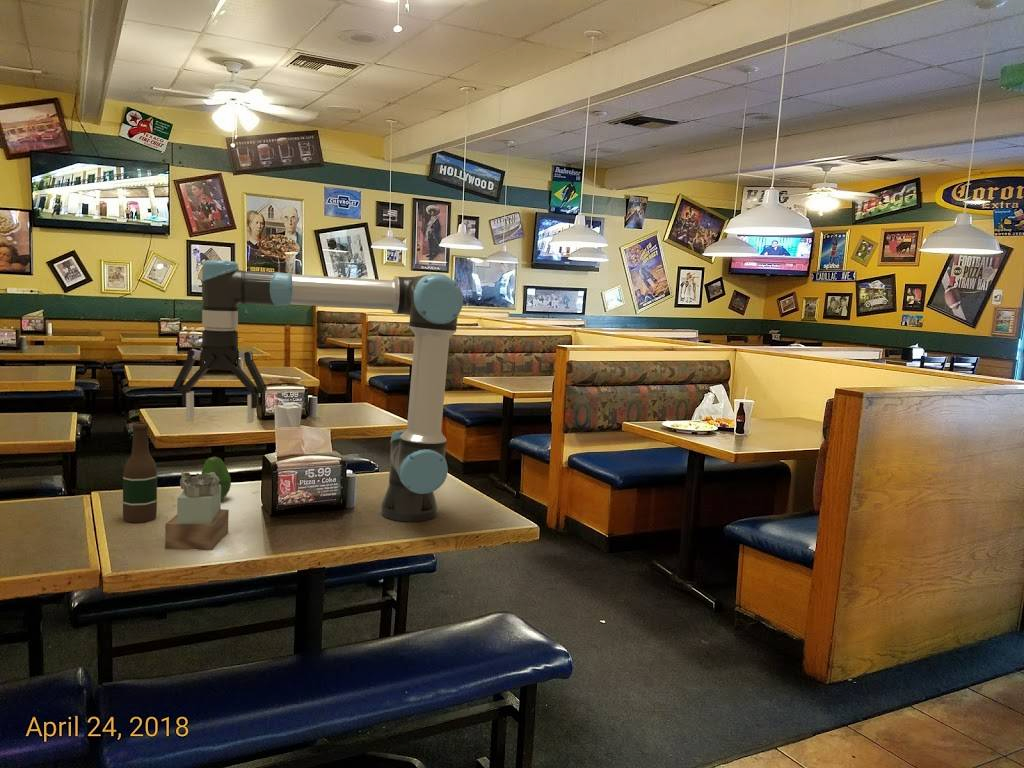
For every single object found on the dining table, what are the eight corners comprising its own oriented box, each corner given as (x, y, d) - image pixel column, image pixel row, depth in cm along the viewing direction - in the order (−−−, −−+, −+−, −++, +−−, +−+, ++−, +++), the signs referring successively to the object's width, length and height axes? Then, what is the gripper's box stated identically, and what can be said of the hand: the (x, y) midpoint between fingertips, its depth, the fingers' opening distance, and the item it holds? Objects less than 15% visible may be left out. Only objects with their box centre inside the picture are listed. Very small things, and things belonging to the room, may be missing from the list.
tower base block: (228, 533, 172) (228, 509, 171) (211, 551, 160) (212, 525, 159) (184, 532, 171) (185, 507, 170) (165, 550, 159) (165, 523, 158)
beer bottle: (151, 511, 183) (152, 419, 180) (162, 520, 177) (163, 424, 174) (117, 516, 177) (117, 421, 174) (128, 525, 172) (128, 427, 169)
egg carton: (178, 486, 167) (178, 469, 166) (213, 483, 171) (213, 467, 170) (185, 498, 158) (185, 480, 157) (221, 495, 162) (222, 477, 161)
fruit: (198, 497, 198) (198, 454, 196) (228, 495, 201) (229, 453, 200) (200, 505, 191) (201, 461, 189) (232, 503, 194) (233, 459, 193)
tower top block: (220, 509, 171) (221, 484, 170) (210, 524, 160) (211, 498, 160) (189, 509, 170) (189, 484, 169) (177, 524, 159) (177, 497, 158)
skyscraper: (267, 498, 200) (270, 399, 197) (272, 490, 208) (275, 395, 205) (299, 499, 202) (302, 401, 198) (302, 491, 210) (305, 396, 206)
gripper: (280, 330, 168) (279, 419, 171) (169, 326, 166) (171, 416, 169) (272, 332, 161) (271, 425, 163) (156, 327, 158) (158, 422, 161)
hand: (220, 421), depth 166 cm, fingers open, 13 cm apart
